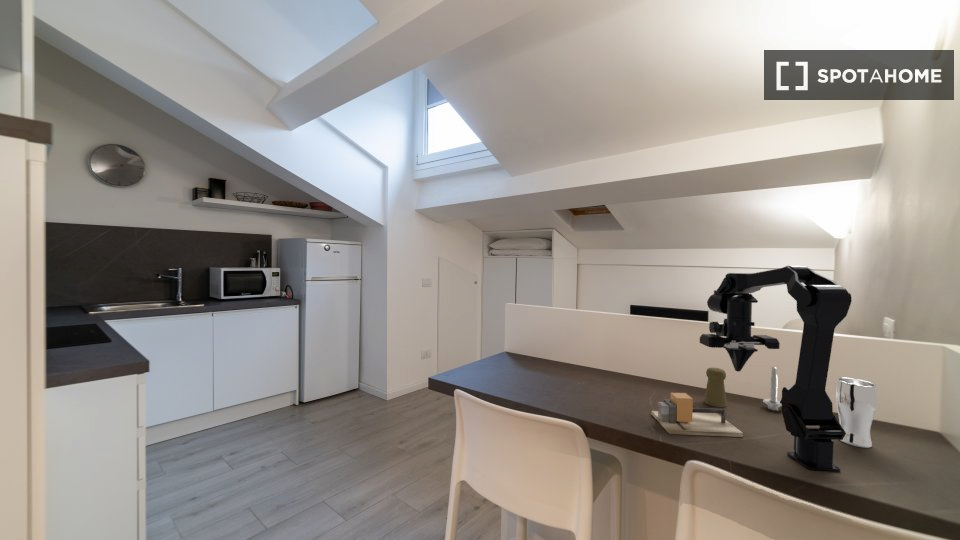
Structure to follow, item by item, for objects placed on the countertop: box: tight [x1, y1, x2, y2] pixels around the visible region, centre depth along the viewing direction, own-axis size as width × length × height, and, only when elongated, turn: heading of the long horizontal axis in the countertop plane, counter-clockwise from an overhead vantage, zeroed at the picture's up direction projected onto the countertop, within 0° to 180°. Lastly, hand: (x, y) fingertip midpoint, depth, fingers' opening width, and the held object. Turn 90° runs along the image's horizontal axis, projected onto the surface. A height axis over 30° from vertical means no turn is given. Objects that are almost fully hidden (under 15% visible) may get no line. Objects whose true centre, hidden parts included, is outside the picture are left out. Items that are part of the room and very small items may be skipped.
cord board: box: [650, 398, 744, 438], centre depth 99 cm, size 12×18×6 cm, turn 85°
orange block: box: [670, 392, 694, 422], centre depth 99 cm, size 4×4×6 cm
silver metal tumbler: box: [835, 377, 877, 449], centre depth 90 cm, size 7×7×15 cm
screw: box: [762, 366, 782, 412], centre depth 110 cm, size 13×5×5 cm
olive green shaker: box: [703, 367, 728, 408], centre depth 114 cm, size 6×6×11 cm
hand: (737, 371), depth 104 cm, fingers closed
